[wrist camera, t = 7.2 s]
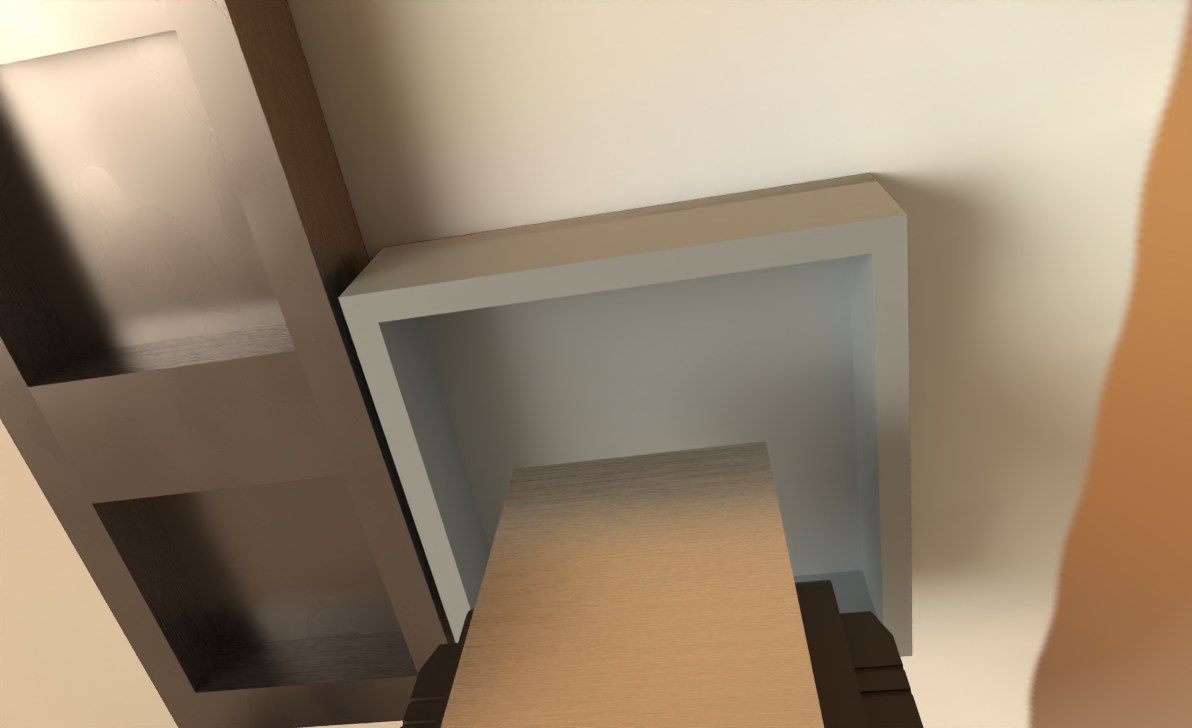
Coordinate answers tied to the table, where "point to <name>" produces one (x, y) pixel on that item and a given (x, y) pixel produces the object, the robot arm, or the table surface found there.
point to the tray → (658, 369)
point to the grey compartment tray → (203, 360)
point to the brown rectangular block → (639, 600)
